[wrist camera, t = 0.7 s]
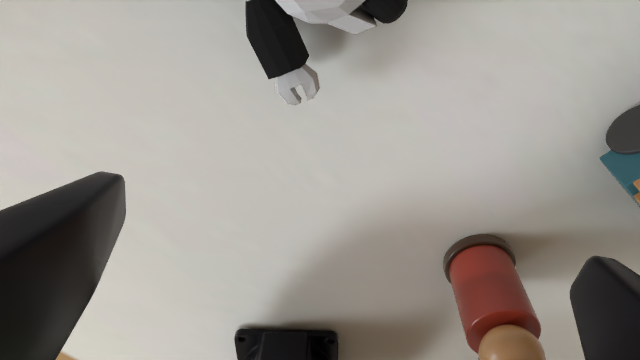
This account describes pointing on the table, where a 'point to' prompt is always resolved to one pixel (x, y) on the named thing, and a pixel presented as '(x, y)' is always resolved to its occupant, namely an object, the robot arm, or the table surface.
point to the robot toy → (287, 45)
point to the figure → (492, 300)
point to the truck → (625, 152)
